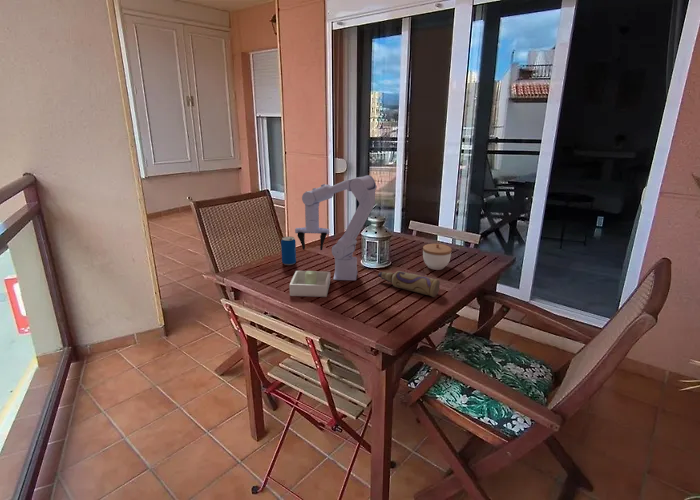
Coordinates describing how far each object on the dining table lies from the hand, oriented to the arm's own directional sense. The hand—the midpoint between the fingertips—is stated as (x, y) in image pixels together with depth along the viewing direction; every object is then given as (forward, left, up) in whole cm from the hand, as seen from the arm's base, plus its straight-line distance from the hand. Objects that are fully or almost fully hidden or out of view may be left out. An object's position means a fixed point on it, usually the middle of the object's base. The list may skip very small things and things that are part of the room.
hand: (312, 249), depth 173 cm
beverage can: (+12, -7, -10) cm, 17 cm away
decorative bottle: (-41, +16, -10) cm, 45 cm away
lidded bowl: (-55, -8, -10) cm, 56 cm away
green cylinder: (-2, +20, -9) cm, 22 cm away
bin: (-2, +20, -9) cm, 22 cm away
